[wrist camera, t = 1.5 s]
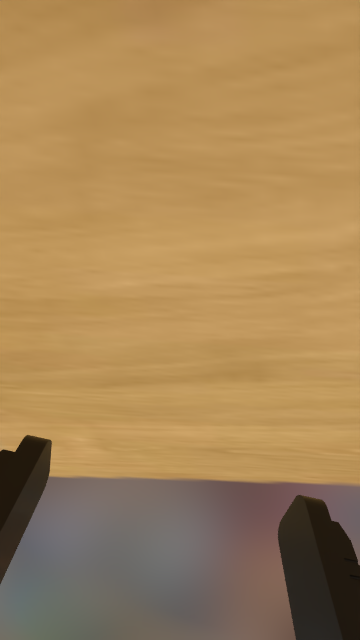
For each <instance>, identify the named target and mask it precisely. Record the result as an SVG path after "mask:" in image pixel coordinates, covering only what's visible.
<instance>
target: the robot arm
mask: <svg viewBox="0 0 360 640" xmlns="http://www.w3.org/2000/svg"><path fill="white" fill-rule="evenodd" d="M51 445H52V442H51V440H48V439H44V438H39V437H35V436H30V435H27V436H25V437H24V439H23V440H22V442H21V443H20V445H19V447H18V448H17V450H16V451H15V452H13V451H8V450H2V451H0V584H1V581H2V579H3V577H4V575H5V573H6V571H7V568H8V566H9V564H10V562H11V560H12V558H13V556H14V554H15V551H16V549H17V547H18V545H19V543H20V540H21V538H22V536H23V534H24V532H25V530H26V528H27V526H28V523H29V521H30V519H31V517H32V515H33V513H34V510H35V508H36V506H37V504H38V502H39V500H40V498H41V495H42V493H43V491H44V488H45V486H46V483H47V480H48V476H49V471H50V459H51ZM278 540H279V547H280V553H281V558H282V564H283V569H284V574H285V581H286V586H287V592H288V597H289V603H290V608H291V614H292V619H293V625H294V630H295V636H296V640H360V565H358V560H357V557H356V554H355V551H354V548H353V546H352V543H351V540H350V539H349V538H348V536H347V534H346V533H345V531H344V530H343V529H342V527H341V526H340V524H339V523H338V522H334V521H331V518H330V515H329V512H328V509H327V506H326V504H325V502H324V501H322V500H320V499H316V498H311V497H306V496H302V495H298V496H296V498H295V499H294V501H293V502H292V504H291V506H290V507H289V509H288V510H287V512H286V513H285V515H284V516H283V518H282V520H281V522H280V525H279V530H278Z"/></svg>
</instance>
